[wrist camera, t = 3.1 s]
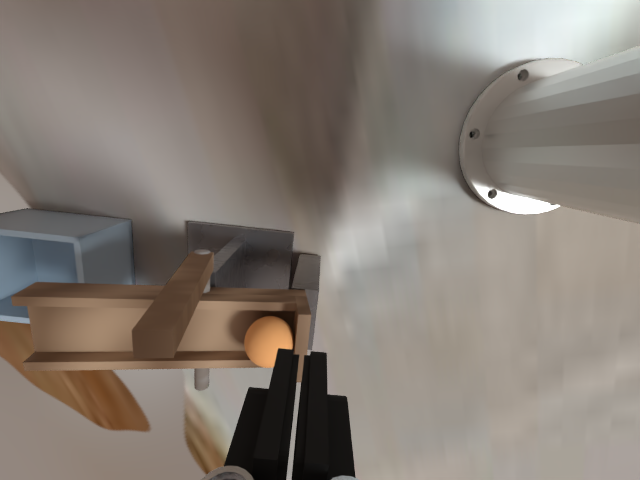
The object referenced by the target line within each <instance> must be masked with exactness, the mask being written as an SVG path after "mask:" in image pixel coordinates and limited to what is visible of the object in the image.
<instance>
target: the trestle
mask: <svg viewBox="0 0 640 480" xmlns="http://www.w3.org/2000/svg"><path fill="white" fill-rule="evenodd" d="M293 237H294V232H287V231H277V230H268V229H259V228H250V227H241V226H231V225H222V224H213V223H204V222H194V221H190V222H188V254H189V253H190V252H191V251H196V250H201V249H204V250H209V251H210V252H214V265H213V272H212V274H211V276H210V287H225V288H258V289H289V284H290V272H291V261H292V249H293ZM320 257H321V256H317V255H307V254H300V256H299V260H298V264H297V268H296V272H295V276H294V280H293V284H292V288H291V290H305V292H306V296H307V300H308V304H309V308H310V312H311V322H310V331H309V340H308V350H312V345H313V336H314V328H315V319H316V310H317V302H318V293H319V276H320Z"/></svg>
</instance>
